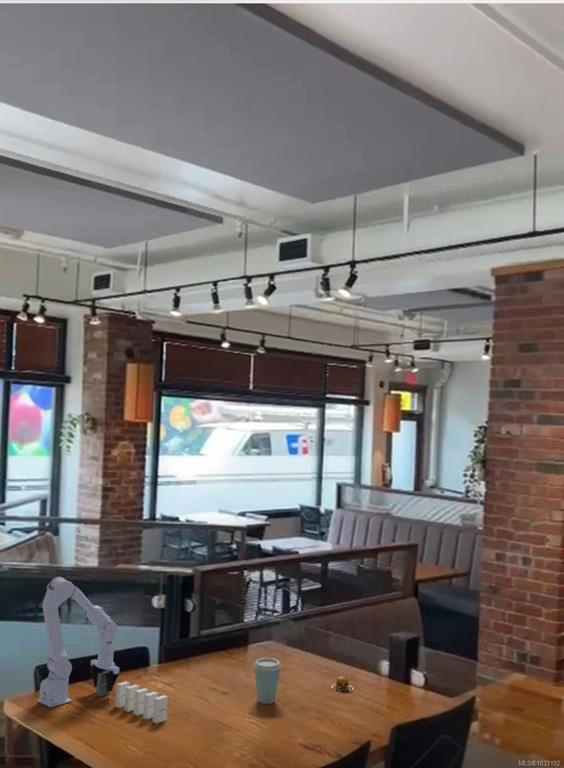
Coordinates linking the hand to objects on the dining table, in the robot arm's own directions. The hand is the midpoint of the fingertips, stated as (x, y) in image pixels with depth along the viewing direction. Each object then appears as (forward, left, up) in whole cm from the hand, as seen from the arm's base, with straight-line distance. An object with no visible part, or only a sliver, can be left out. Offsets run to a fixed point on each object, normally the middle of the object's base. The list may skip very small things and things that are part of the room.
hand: (103, 688), depth 288 cm
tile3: (-3, -19, -2) cm, 19 cm away
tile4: (-3, -24, -2) cm, 24 cm away
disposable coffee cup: (+41, -46, -2) cm, 62 cm away
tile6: (-3, -34, -2) cm, 34 cm away
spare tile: (0, 0, -2) cm, 2 cm away
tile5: (-3, -29, -2) cm, 29 cm away
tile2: (-3, -14, -2) cm, 14 cm away
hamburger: (+76, -58, -3) cm, 96 cm away
